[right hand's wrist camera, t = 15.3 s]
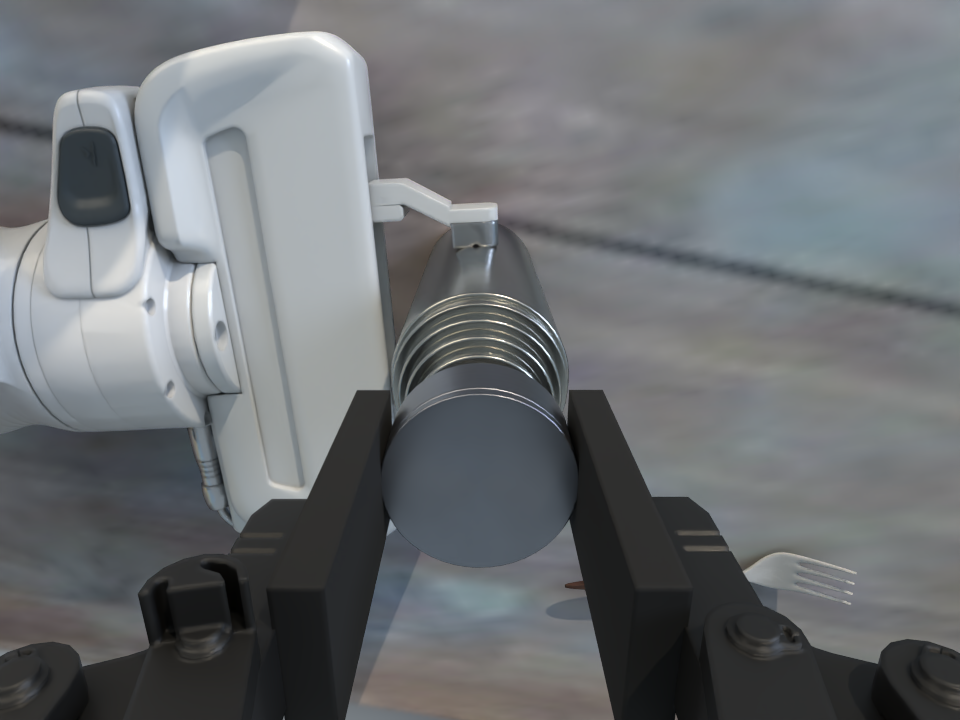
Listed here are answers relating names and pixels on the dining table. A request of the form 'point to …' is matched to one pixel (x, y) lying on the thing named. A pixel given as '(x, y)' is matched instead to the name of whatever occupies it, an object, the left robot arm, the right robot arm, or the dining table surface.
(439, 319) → the bottle
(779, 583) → the fork
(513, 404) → the cap
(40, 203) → the dining table surface
